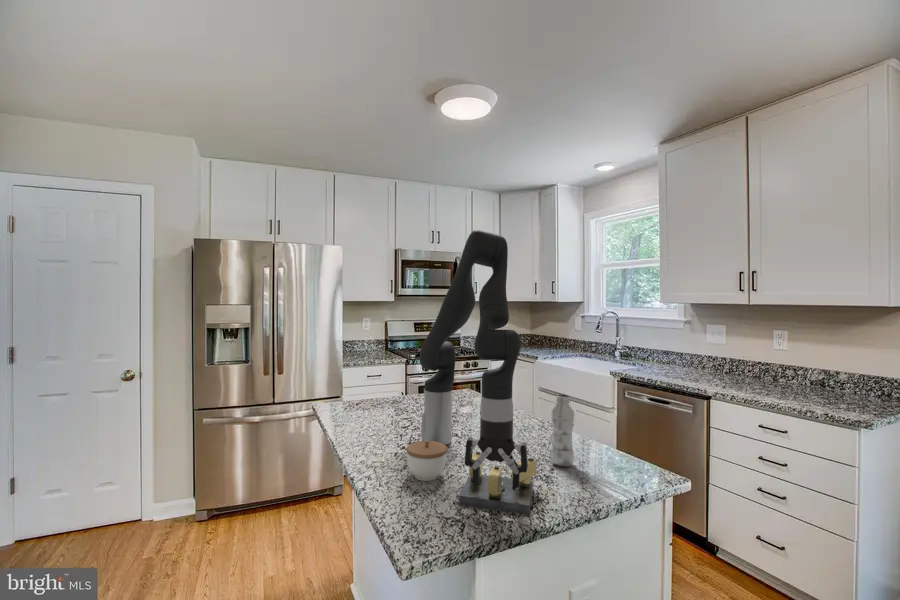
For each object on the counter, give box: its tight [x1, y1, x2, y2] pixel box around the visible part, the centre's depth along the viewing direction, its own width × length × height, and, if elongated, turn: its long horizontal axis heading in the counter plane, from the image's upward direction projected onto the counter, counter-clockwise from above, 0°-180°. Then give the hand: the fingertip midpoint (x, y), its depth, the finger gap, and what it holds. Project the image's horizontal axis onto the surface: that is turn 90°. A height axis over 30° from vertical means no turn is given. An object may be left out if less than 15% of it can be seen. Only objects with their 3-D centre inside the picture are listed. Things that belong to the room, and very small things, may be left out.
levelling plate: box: [458, 474, 534, 515], centre depth 101 cm, size 16×13×3 cm
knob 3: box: [511, 457, 537, 487], centre depth 103 cm, size 6×3×6 cm, turn 129°
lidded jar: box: [406, 440, 448, 482], centre depth 112 cm, size 11×11×9 cm
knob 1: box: [468, 451, 484, 480], centre depth 106 cm, size 6×3×6 cm, turn 165°
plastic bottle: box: [550, 393, 575, 468], centre depth 121 cm, size 6×7×20 cm
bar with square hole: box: [488, 465, 503, 498], centre depth 97 cm, size 6×3×6 cm, turn 165°
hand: (495, 486), depth 97 cm, fingers open, 8 cm apart
